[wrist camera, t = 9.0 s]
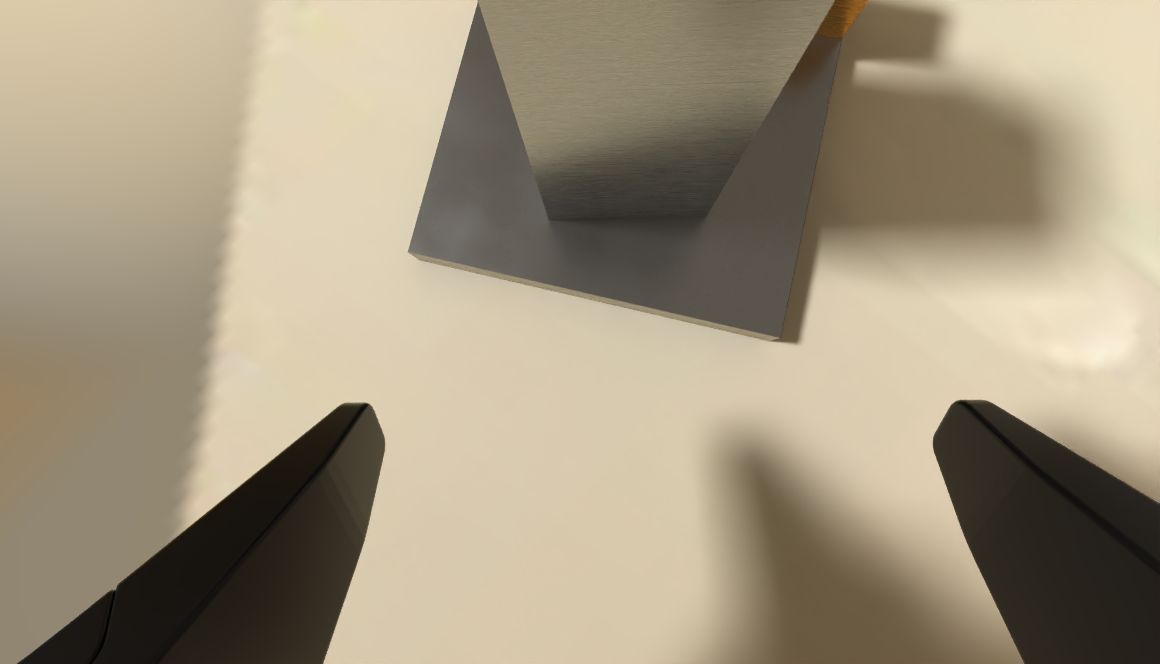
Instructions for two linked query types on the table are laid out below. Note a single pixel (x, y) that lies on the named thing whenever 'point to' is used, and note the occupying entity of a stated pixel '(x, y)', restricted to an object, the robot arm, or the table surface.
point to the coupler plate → (632, 245)
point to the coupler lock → (643, 94)
